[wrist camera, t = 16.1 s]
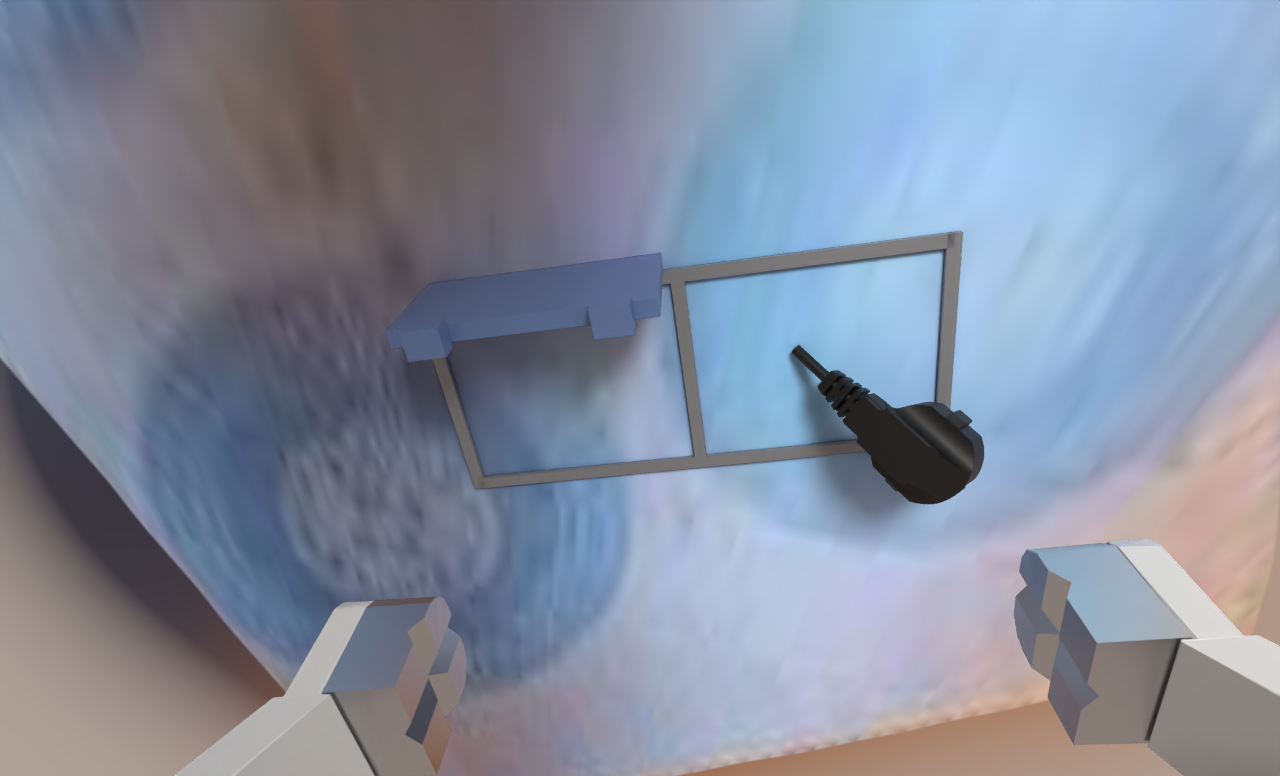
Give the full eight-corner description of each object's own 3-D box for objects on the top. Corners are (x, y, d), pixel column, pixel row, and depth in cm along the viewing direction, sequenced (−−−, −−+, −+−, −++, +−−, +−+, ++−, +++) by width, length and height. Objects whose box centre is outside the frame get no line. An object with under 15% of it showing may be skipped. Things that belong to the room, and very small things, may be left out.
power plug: (819, 312, 40) (989, 461, 35) (864, 317, 46) (1015, 444, 41) (762, 384, 42) (912, 533, 37) (811, 379, 48) (947, 507, 43)
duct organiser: (409, 281, 41) (352, 338, 34) (962, 207, 37) (1030, 254, 30) (476, 486, 48) (441, 569, 41) (945, 441, 45) (997, 524, 37)
